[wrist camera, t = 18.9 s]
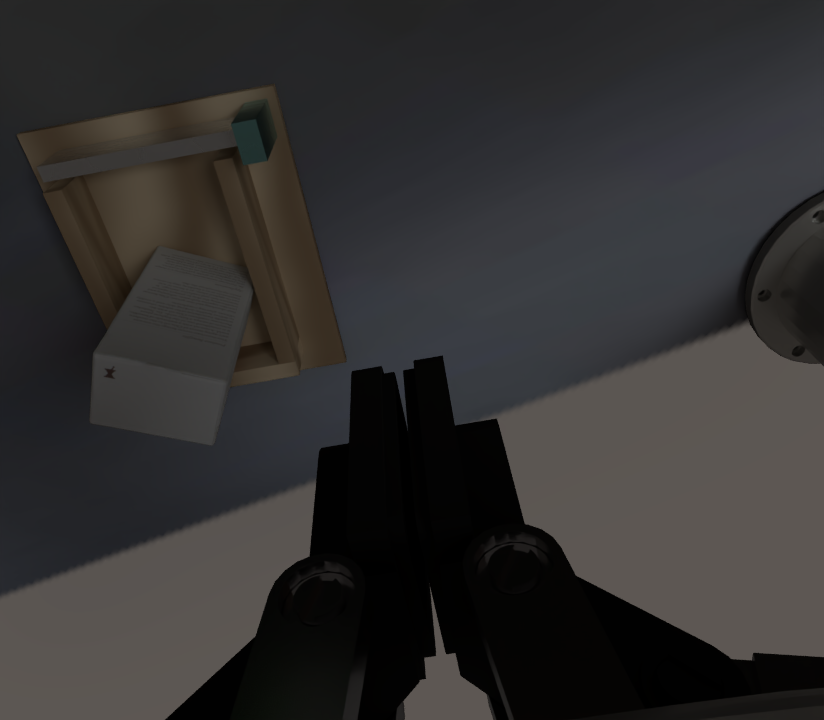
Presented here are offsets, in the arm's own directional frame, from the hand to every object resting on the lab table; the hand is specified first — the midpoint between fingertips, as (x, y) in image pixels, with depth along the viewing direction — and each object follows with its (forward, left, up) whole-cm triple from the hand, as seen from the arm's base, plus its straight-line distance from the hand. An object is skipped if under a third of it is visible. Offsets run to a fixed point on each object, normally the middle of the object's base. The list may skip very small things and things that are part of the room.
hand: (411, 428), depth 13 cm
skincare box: (+13, +9, -29) cm, 33 cm away
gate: (+12, 0, -28) cm, 31 cm away
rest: (+13, +7, -29) cm, 32 cm away
